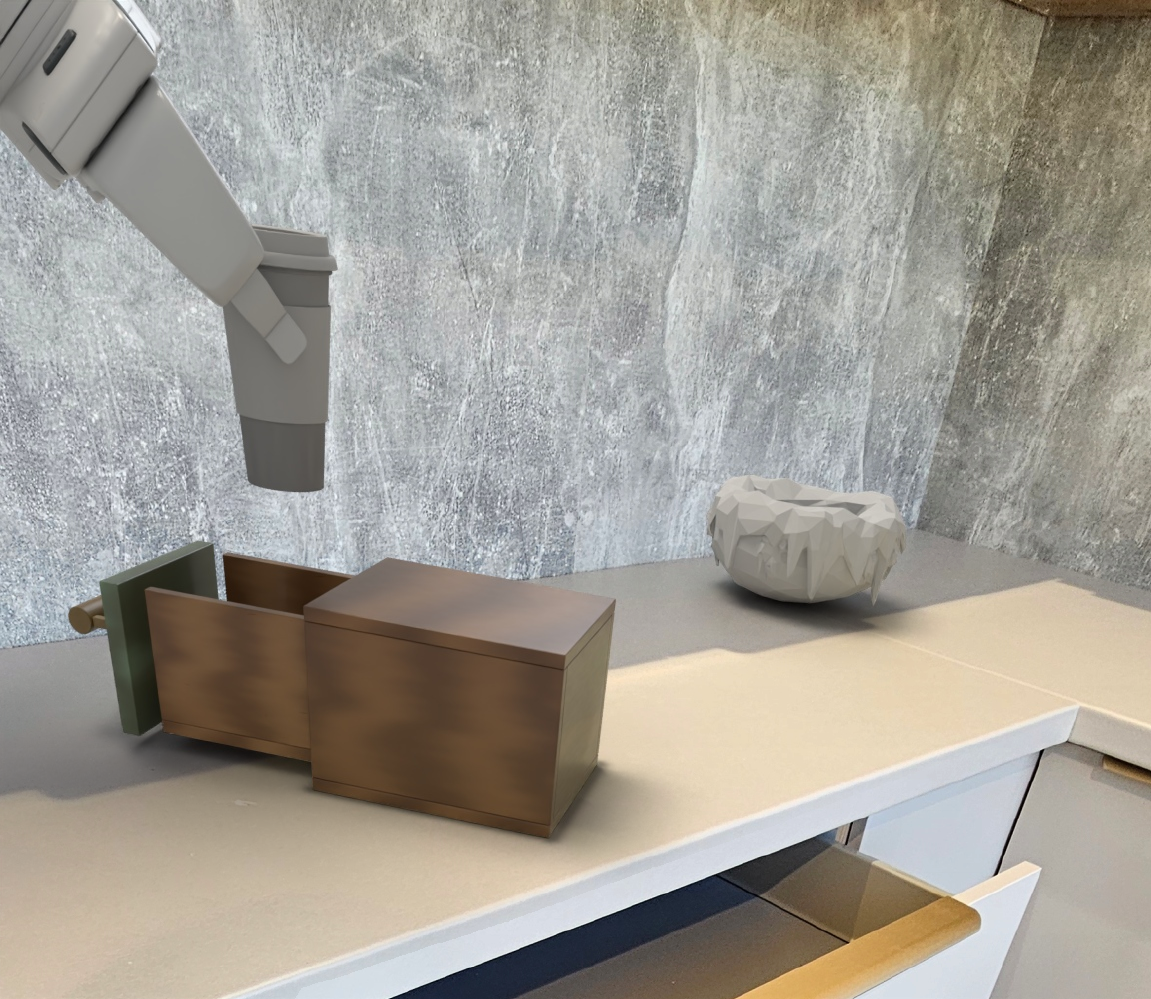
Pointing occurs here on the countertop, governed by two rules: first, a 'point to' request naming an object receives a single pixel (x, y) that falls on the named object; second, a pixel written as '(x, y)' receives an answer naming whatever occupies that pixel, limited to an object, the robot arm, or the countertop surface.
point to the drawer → (211, 647)
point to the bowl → (804, 538)
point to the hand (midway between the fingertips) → (289, 345)
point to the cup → (285, 366)
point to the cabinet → (457, 693)
